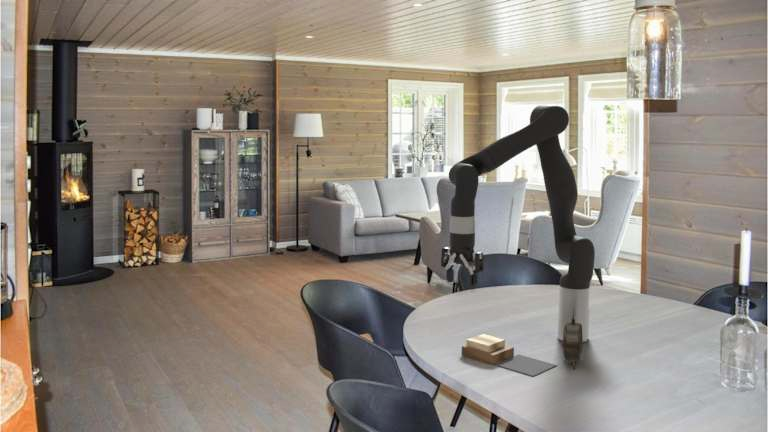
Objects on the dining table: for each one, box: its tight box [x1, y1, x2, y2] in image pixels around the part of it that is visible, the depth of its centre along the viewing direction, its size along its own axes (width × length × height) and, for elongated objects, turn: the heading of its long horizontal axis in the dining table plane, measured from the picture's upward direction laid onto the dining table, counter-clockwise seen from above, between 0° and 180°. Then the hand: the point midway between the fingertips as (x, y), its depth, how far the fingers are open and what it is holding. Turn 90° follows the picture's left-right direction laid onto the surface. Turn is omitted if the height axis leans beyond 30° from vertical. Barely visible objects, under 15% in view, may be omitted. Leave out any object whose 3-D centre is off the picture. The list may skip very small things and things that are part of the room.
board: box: [461, 343, 515, 366], centre depth 206 cm, size 10×12×3 cm
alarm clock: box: [561, 309, 584, 370], centre depth 199 cm, size 11×5×16 cm, turn 160°
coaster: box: [466, 333, 506, 352], centre depth 207 cm, size 8×8×2 cm
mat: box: [493, 353, 558, 377], centre depth 199 cm, size 12×13×1 cm
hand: (461, 283), depth 210 cm, fingers open, 8 cm apart
